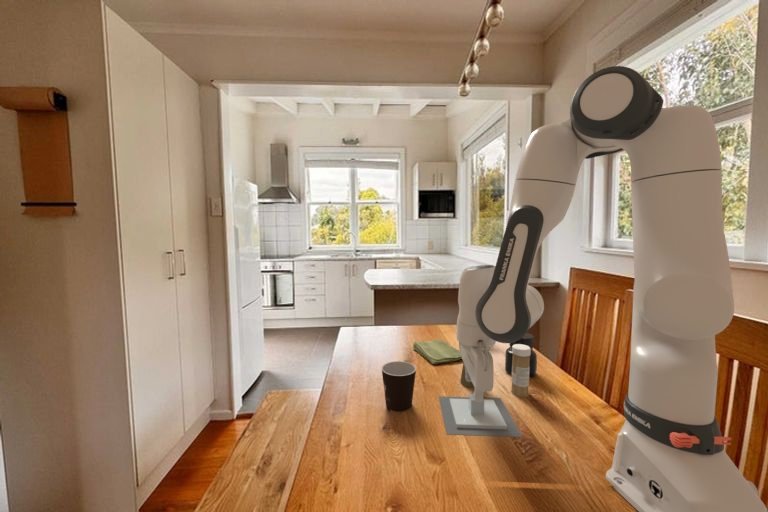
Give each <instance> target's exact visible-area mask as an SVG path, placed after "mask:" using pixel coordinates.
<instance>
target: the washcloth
mask: <svg viewBox="0 0 768 512" xmlns="http://www.w3.org/2000/svg"><path fill="white" fill-rule="evenodd" d="M412 348H413V350H414V351H416V352H417V354H419V355H420V354H421V355H420V356H421V357H423V356H424V357H423V358H424V359H426V360H427V361H429V362H430V364H432V365H433V364H435V365H439V363H440V364H443V362H446V363H451V362H455V361H461V360H460V359H462V357H461V355H460V350H459V349H457V348H455V347H453V346H452V345H450V344H449V343H448V342H447V341H444V340H443V339H432V340H426V341H424V340H423V341H422V340H421V341H414V343H413V346H412Z"/></svg>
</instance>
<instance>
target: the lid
mask: <svg viewBox="0 0 768 512" xmlns="http://www.w3.org/2000/svg"><path fill="white" fill-rule="evenodd" d="M473 396H474V395H473V393H468V397H469V399H449V402H450V406H451V409H452V413H453V417H454V421H455V424H456V428H481V429H507V425H506V423H505V421H504V419H503V417H502V415H501V413H500V412H499V410H498V408H497V406H496V404H495V402H494V400H484V399H483V402H481V403H478V402H475V401H474V398H473Z"/></svg>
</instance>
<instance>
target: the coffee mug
mask: <svg viewBox="0 0 768 512" xmlns="http://www.w3.org/2000/svg"><path fill="white" fill-rule="evenodd" d="M416 367H417V366H415V365H414V364H413V363H411V362H407V361H401V360H397V361H396V360H394V361H389V362H386V363H384V364H383V365H382V366H381V374H382V382H383V391H384V400H385V407H386V409H387V411H388V412H391V411H393V412H398V413H399V412H405V411H408V410H410V409H411V408H412V406H413V396H414V391H415V382H416V373H417V372H416V371H417V368H416Z"/></svg>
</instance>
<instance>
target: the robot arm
mask: <svg viewBox="0 0 768 512" xmlns="http://www.w3.org/2000/svg"><path fill="white" fill-rule="evenodd" d="M663 106H664V98H663V96H662V95H661V94H659V92H657V90H656V89H655V88H654V87H653V86H652V84H651V83H649V81H648V80H647V79H646V78H645V77H644V76H643V75H642V74H641V73H639V72H638V71H637V70H635V69H634V68H630V67H628V66H625V65H624V66H623V65H614V66H608V67H605V68H601V69H599V70H596V72H594V73H592V74H590V75H589V76H588V77H587V78H586V79H584V80H583V81H582V82H581V83H580V85H579V86H578V87H577V89H576V90H575V92H574V94H573V96H572V99H571V102H570V106H569V119H567V120H566V121H563V122H561V123H549V124H545V125H542V126H539V127H538V128H536V129H535V130H533V131H532V133H531V134H530V135H529V137H528V139H527V142H526V144H525V146H524V148H523V151H522V155H521V157H520V160H519V163H518V167H517V171H516V174H515V179H514V184H513V189H512V196H511V200H510V205H509V206H510V207H509V212H508V216H507V217H508V218H507V220H506V221H507V222H506V227H505V231H504V234H503V238H502V240H501V244H500V249H499V251H498V256H497V258H496V262H495V265H493V264H483V265H482V264H481V265H476V266H474V265H473V266H470V267H467V268H465V269H464V270H462V272H461V275H460V279H459V283H458V284H459V285H458V294H457V295H458V296H457V302H458V303H457V304H458V308H459V311H458V315H457V318H456V340H457V342H458V346H459V347H458V348H459V349H458V350H459V351H460V355H461V357H462V361H463V362H464V364H465V372H466V374H465V378H466V380H467V382H472V383H473V385H474V388H473V389H474V391H473V392H472V394H473V395H474V396H473V398H474V401H475V402H478V403H481V402H483V398H484V394H485V392H486V393H487V392H488V393H489V392H492V391H493V388H494V380H495V379H494V377H495V374H494V373H495V372H494V367H495V366H494V359H493V355H492V354H491V352H490V347H493V346H495V345H496V342H497V343H500V344H501V343H502V344H510V343H513V342H516V341H518V340H520V339H521V338H522V337H523V336H524V335H525V334H526V333H528V331H529V329H530V328H531V327H533V326H534V325H535V324H536V322H538V321H539V319H540V318H541V317H542V315H543V314H544V312H545V308H546V307H545V300H544V297H543V295H542V294H541V292H540V291H539V290H538V289H537V288H536V287H534V286H532V285H531V284H529V282H530V279H531V275H532V272H533V268H534V264H535V260H536V257H537V253H538V251H539V249H540V247H541V244H542V243H543V241H544V240H545V238H546V237H547V236H548V235H549V234H550V233H551V232H552V231H553V230H554V229H555V228H556V227H558V225H559V224H561V222H563V220H564V219H565V217H566V215H567V213H568V211H569V209H570V208H569V207H570V206H571V204H572V200H573V197H574V193H575V190H576V186H577V182H578V181H577V180H578V176H579V172H580V169H581V165H582V164H583V162H584V160H585V159H586V160H588V159H593V158H595V157H596V158H597V157H598V158H599V157H601V156H607V155H613V154H615V153H619V152H621V151H625V153H626V154H627V155H628V156H627V157H628V158H629V162H630V163H629V164H630V187H631V188H630V190H631V195H630V196H631V197H630V198H631V221H632V222H631V224H632V225H631V226H632V227H631V228H632V246H633V248H632V249H633V268H634V269H633V271H634V273H633V274H634V282H633V289H632V290H633V295H632V316H631V317H632V318H631V337H630V339H631V340H630V356H629V357H630V358H629V359H630V360H629V376H628V378H629V380H628V392H627V393H626V394H625V397H624V401H623V416H624V418H625V421H624V422H623V425H622V427H621V429H620V431H619V432H618V434H617V438H616V443H615V448H614V452H613V453H614V455H613V460H612V465H611V467H610V468H609V469H608V470H607V471H606V472H605V479H606V480H607V481H608V482H609V483H610V484H611V487H612V488H613V489H614V490H615V491H616V492H617V493H618V494H620V495H621V497H623V498H624V499H625V500H626V501H627V502H628V503H629V504H630V505H631V506H632V507H633V508H635V510H636V511H638V512H768V508H767V506H766V504H765V503H764V501H762V499H761V498H760V497H759V491H758V488H757V487H756V485H755V484H754V483H753V482H752V481H751V480H747V479H746V478H745V476H743V474H742V472H741V471H740V470H739V469H738V467H737V466H736V465H735V463H734V462H733V460H732V459H731V458H730V457H729V455H728V453H726V451H725V445H728V446H729V445H730V446H731V445H732V443H731V442H728V441H731V440H732V437H730V436H723V435H722V432H721V429H720V425H719V423H718V419H717V417H716V416H715V413H716V403H717V402H716V401H717V387H718V375H719V369H718V363H717V362H718V361H717V349H716V335H718V334H720V333H721V332H723V331H724V330H725V329H726V328H727V327H729V325H730V323H731V321H732V319H733V317H734V313H735V301H734V300H735V299H734V291H733V284H732V283H733V281H732V273H731V264H730V258H729V251H728V247H727V240H726V235H725V230H724V229H725V228H724V220H723V219H724V218H723V215H724V213H723V181H722V180H723V177H722V174H723V173H722V172H723V171H722V155H721V147H720V142H719V137H718V133H717V129H716V126H715V123H714V119H713V117H712V114H711V113H710V111H708V110H707V109H706V108H704V107H701V106H698V105H691V104H690V105H689V104H686V105H683V104H682V105H675V106H670V107H663ZM463 362H462V363H463Z"/></svg>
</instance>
